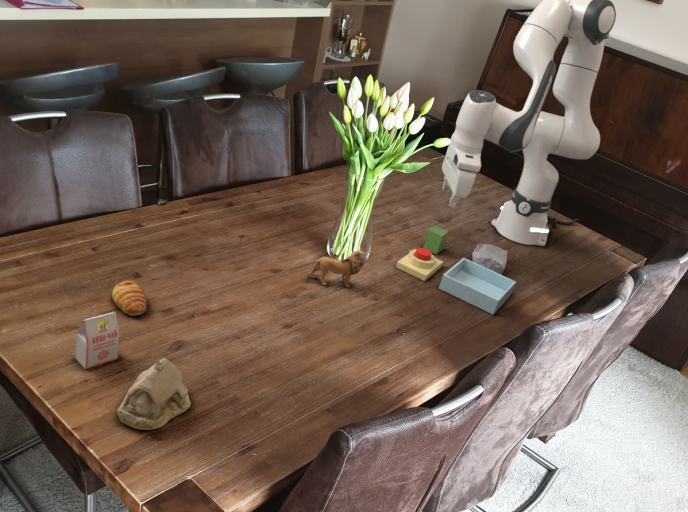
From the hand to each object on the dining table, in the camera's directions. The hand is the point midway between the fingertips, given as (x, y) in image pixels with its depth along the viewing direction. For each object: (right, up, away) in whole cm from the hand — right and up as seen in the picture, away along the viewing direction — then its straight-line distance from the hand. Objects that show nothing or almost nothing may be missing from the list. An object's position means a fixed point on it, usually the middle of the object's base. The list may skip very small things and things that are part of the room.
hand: (448, 199), depth 212 cm
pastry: (-75, -32, -49) cm, 95 cm away
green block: (-3, -13, +9) cm, 16 cm away
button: (-8, -17, -5) cm, 19 cm away
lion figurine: (-32, -25, -20) cm, 45 cm away
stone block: (+13, -17, +10) cm, 23 cm away
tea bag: (-77, -44, -66) cm, 110 cm away
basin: (+6, -27, -7) cm, 28 cm away
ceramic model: (-64, -52, -74) cm, 111 cm away
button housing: (-8, -19, -3) cm, 21 cm away
